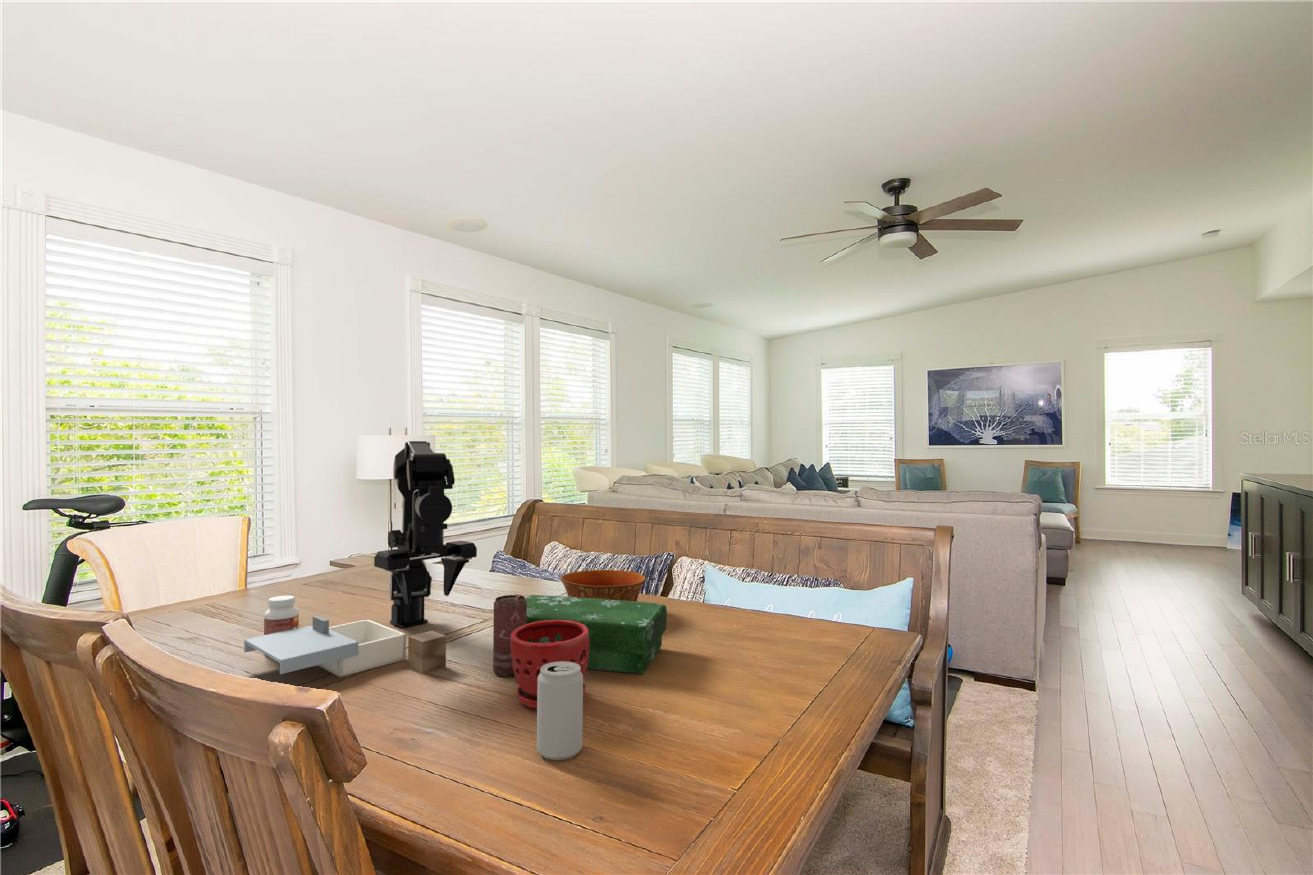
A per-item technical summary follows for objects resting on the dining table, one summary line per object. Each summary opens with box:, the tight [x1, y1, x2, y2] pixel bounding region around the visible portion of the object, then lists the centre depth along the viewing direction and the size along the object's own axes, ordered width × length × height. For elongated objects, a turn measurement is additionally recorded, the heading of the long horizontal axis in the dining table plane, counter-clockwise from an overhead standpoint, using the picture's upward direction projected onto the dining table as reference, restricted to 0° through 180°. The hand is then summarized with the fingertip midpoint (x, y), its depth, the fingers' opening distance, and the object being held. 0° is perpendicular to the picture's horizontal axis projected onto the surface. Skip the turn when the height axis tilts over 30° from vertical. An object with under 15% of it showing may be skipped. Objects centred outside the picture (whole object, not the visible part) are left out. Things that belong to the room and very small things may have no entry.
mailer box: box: [317, 618, 407, 678], centre depth 131 cm, size 13×16×5 cm
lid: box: [243, 615, 358, 675], centre depth 123 cm, size 13×17×5 cm
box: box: [525, 594, 668, 675], centre depth 134 cm, size 32×18×10 cm, turn 76°
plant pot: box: [510, 620, 589, 710], centre depth 111 cm, size 13×13×12 cm
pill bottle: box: [263, 595, 300, 635], centre depth 135 cm, size 6×6×11 cm
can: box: [492, 594, 527, 678], centre depth 124 cm, size 6×6×14 cm
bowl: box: [560, 569, 647, 602], centre depth 163 cm, size 21×21×10 cm
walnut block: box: [407, 630, 447, 674], centre depth 127 cm, size 5×5×6 cm
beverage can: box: [536, 661, 584, 761], centre depth 93 cm, size 6×6×12 cm
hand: (427, 599), depth 127 cm, fingers open, 8 cm apart
